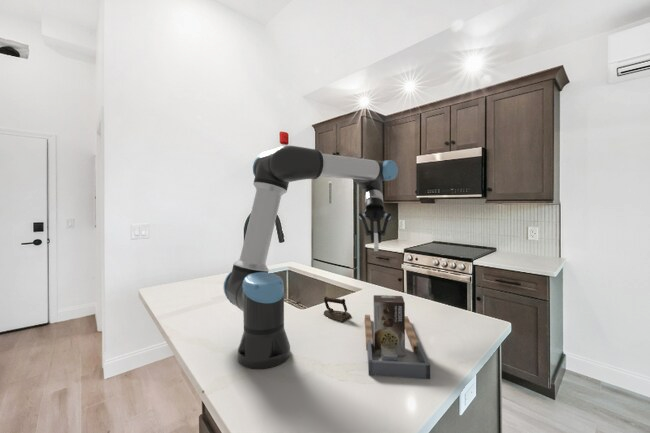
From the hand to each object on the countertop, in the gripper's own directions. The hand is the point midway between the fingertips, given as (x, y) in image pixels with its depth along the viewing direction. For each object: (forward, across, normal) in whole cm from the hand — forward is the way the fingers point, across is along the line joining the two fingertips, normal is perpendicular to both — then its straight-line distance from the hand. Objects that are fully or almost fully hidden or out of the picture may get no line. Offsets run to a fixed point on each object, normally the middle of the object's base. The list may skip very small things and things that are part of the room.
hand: (376, 248), depth 109 cm
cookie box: (+34, -3, -6) cm, 34 cm away
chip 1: (+37, -2, -3) cm, 37 cm away
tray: (+38, -4, -1) cm, 38 cm away
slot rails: (+26, -4, -14) cm, 29 cm away
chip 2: (+40, -2, 0) cm, 40 cm away
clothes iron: (+16, +16, -24) cm, 33 cm away
